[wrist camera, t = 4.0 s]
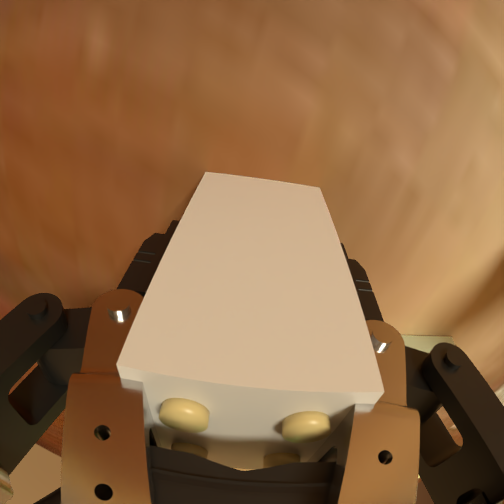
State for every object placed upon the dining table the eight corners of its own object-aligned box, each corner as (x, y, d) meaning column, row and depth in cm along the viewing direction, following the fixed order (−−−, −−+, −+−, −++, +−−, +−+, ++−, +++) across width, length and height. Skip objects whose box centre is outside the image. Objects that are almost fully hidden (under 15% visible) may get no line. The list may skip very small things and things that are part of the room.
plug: (200, 265, 13) (149, 462, 6) (205, 171, 11) (110, 378, 4) (298, 277, 13) (315, 479, 6) (321, 187, 11) (390, 405, 4)
